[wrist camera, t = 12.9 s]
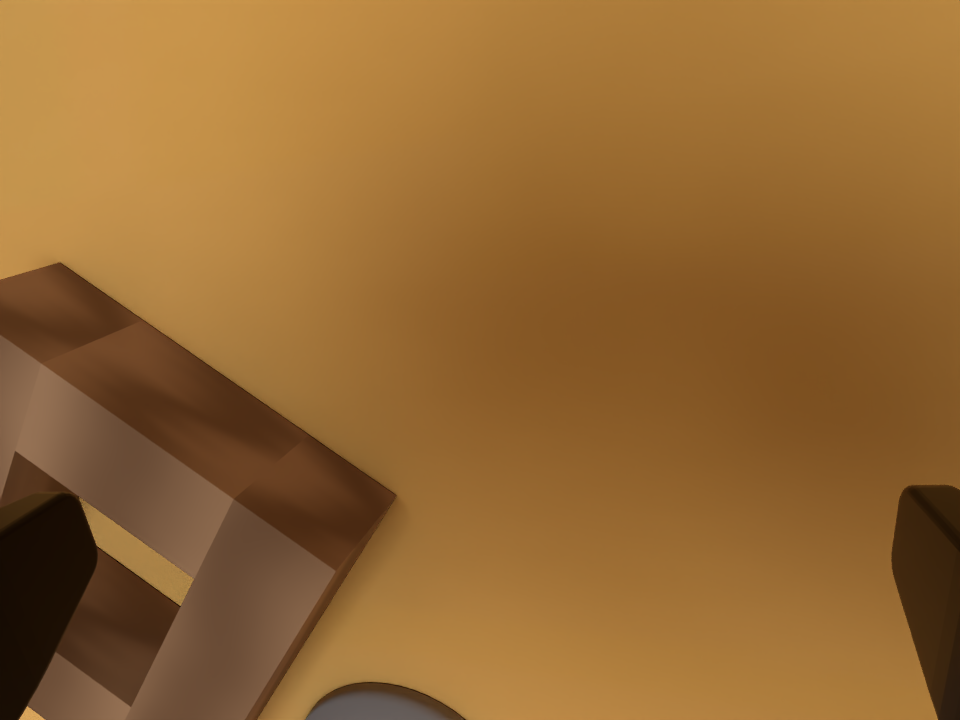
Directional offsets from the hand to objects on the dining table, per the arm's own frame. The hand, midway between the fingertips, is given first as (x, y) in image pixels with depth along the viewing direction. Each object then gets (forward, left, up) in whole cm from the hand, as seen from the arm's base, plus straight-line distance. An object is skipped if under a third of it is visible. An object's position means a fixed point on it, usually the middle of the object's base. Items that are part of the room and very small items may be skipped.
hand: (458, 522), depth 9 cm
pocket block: (+8, +16, -12) cm, 22 cm away
